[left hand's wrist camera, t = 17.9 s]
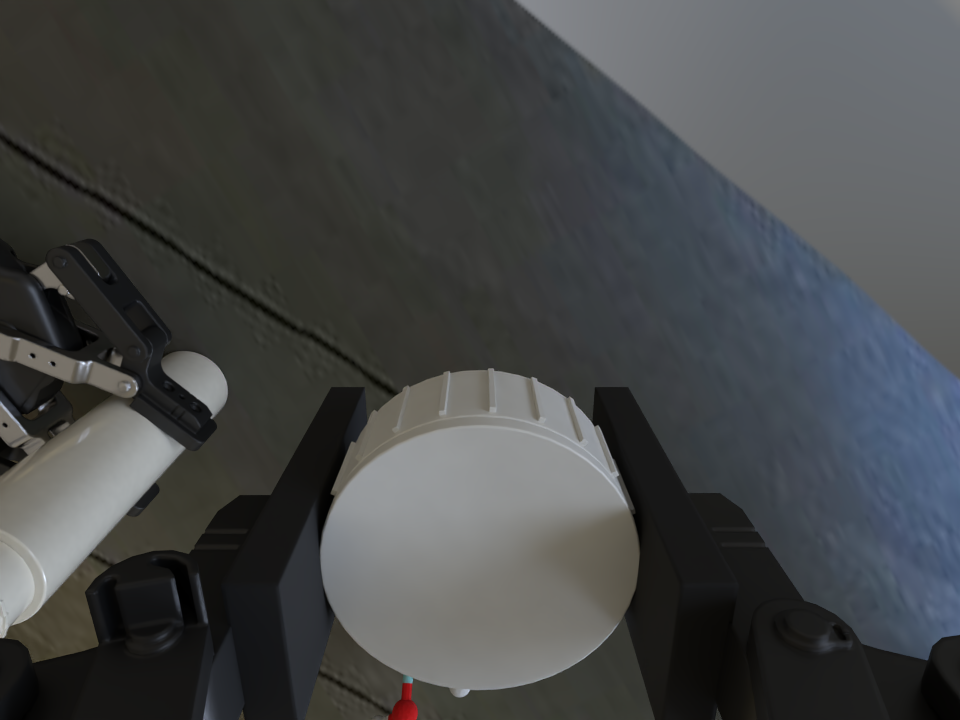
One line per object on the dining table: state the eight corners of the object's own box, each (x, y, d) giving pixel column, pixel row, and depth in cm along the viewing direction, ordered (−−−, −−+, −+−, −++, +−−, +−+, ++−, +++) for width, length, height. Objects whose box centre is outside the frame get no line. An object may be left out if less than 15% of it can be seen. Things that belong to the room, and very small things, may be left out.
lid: (455, 307, 11) (449, 351, 9) (674, 473, 12) (715, 548, 10) (290, 510, 13) (251, 590, 10) (499, 641, 14) (503, 738, 12)
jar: (240, 409, 38) (30, 658, 20) (172, 428, 39) (-92, 687, 21) (209, 341, 37) (-48, 546, 19) (138, 361, 37) (-178, 579, 19)
